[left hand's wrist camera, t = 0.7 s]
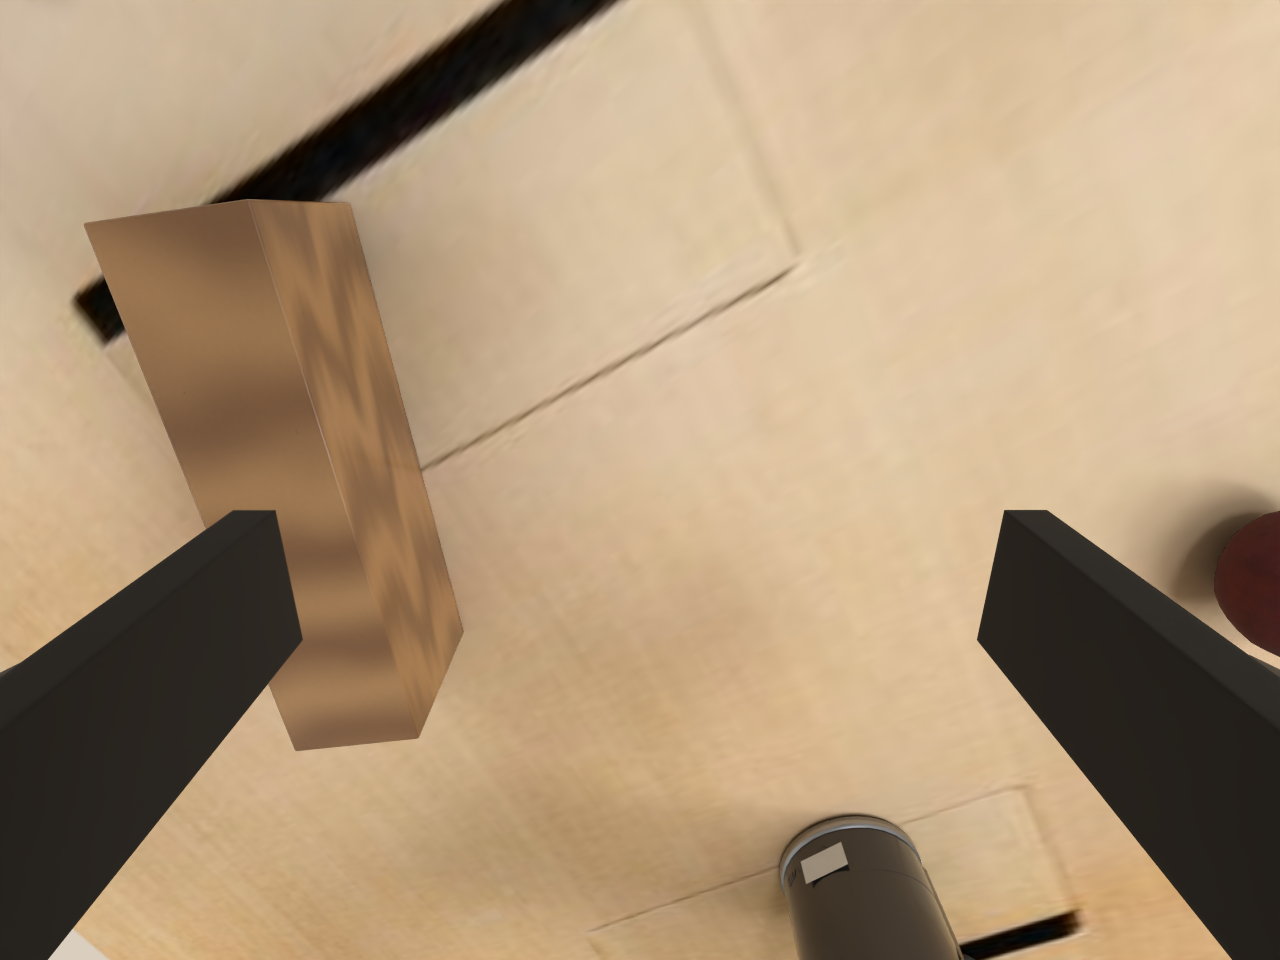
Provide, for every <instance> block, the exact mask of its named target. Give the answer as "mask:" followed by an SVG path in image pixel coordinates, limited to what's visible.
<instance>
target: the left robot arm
mask: <svg viewBox="0 0 1280 960" xmlns="http://www.w3.org/2000/svg"><path fill="white" fill-rule="evenodd" d="M302 641H303V637H302V633H301V628H300V623H299V618H298V614H297V609H296V604H295V600H294V595H293V590H292V585H291V581H290V576H289V571H288V566H287V562H286V557H285V552H284V548H283V543H282V538H281V533H280V529H279V524H278V519H277V514H276V510H233V511H231V512H230V513H228V514H227V515H226V516H224V517H223V518H221V519H220V520H219V521H217V522H216V523H214V524H213V525H212V526H210V527H209V528H207V529H206V530H205V531H203V532H202V533H201V534H199V535H198V536H196V537H195V538H194V539H192V540H191V541H189V542H188V543H187V544H185V545H184V546H182V547H181V548H180V549H178V550H177V551H175V552H174V553H173V554H171V555H170V556H169V557H167V558H166V559H164V560H163V561H162V562H160V563H159V564H157V565H156V566H155V567H153V568H152V569H150V570H149V571H148V572H146V573H145V574H143V575H142V576H141V577H139V578H138V579H137V580H135V581H134V582H132V583H131V584H130V585H128V586H127V587H125V588H124V589H123V590H121V591H120V592H118V593H117V594H116V595H114V596H113V597H111V598H110V599H109V600H107V601H106V602H105V603H103V604H102V605H100V606H99V607H98V608H96V609H95V610H93V611H92V612H91V613H89V614H88V615H86V616H85V617H84V618H82V619H81V620H79V621H78V622H77V623H75V624H74V625H72V626H71V627H70V628H68V629H67V630H66V631H64V632H63V633H61V634H60V635H59V636H57V637H56V638H54V639H53V640H52V641H50V642H49V643H47V644H46V645H45V646H43V647H42V648H40V649H39V650H38V651H36V652H35V653H34V654H32V655H31V656H29V657H28V658H27V659H25V660H24V661H22V662H21V663H19V664H17V665H15V666H13V667H11V668H9V669H7V670H5V671H3V672H1V673H0V960H48V959H49V958H50V956H51V955H52V954H53V953H54V951H55V950H56V949H57V948H58V946H59V945H60V944H61V942H62V941H63V940H64V939H65V937H66V936H67V935H68V934H69V932H70V931H71V930H72V929H73V927H74V926H75V925H76V924H77V922H78V921H79V920H80V919H81V917H82V916H83V915H84V914H85V912H86V911H87V910H88V909H89V907H90V906H91V905H92V904H93V902H94V901H95V900H96V899H97V897H98V896H99V895H100V894H101V892H102V891H103V890H104V889H105V887H106V886H107V885H108V884H109V882H110V881H111V880H112V879H113V877H114V876H115V875H116V874H117V872H118V871H119V870H120V869H121V867H122V866H123V865H124V864H125V862H126V861H127V860H128V859H129V857H130V856H131V855H132V854H133V852H134V851H135V850H136V849H137V847H138V846H139V845H140V844H141V842H142V841H143V840H144V839H145V837H146V836H147V835H148V833H149V832H150V831H151V830H152V828H153V827H154V826H155V825H156V823H157V822H158V821H159V820H160V818H161V817H162V816H163V815H164V813H165V812H166V811H167V810H168V808H169V807H170V806H171V805H172V803H173V802H174V801H175V800H176V798H177V797H178V796H179V795H180V793H181V792H182V791H183V790H184V788H185V787H186V786H187V785H188V783H189V782H190V781H191V780H192V778H193V777H194V776H195V775H196V773H197V772H198V771H199V770H200V768H201V767H202V766H203V765H204V763H205V762H206V761H207V760H208V758H209V757H210V756H211V755H212V753H213V752H214V751H215V750H216V748H217V747H218V746H219V745H220V743H221V742H222V741H223V740H224V738H225V737H226V736H227V735H228V733H229V732H230V731H231V730H232V728H233V727H234V726H235V724H236V723H237V722H238V721H239V719H240V718H241V717H242V716H243V714H244V713H245V712H246V711H247V709H248V708H249V707H250V706H251V704H252V703H253V702H254V701H255V699H256V698H257V697H258V696H259V694H260V693H261V692H262V691H263V689H264V688H265V687H266V686H267V684H268V683H269V682H270V681H271V679H272V678H273V677H274V676H275V674H276V673H277V672H278V671H279V669H280V668H281V667H282V666H283V664H284V663H285V662H286V661H287V659H288V658H289V657H290V656H291V654H292V653H293V652H294V651H295V649H296V648H297V647H298V646H299V644H300V643H301V642H302ZM977 641H978V642H979V643H980V644H981V646H982V647H983V648H984V649H985V651H986V652H987V653H988V654H989V656H990V657H991V658H992V659H993V661H994V662H995V663H996V664H997V666H998V667H999V668H1000V669H1001V671H1002V672H1003V673H1004V674H1005V676H1006V677H1007V678H1008V679H1009V681H1010V682H1011V683H1012V684H1013V686H1014V687H1015V688H1016V689H1017V691H1018V692H1019V693H1020V694H1021V696H1022V697H1023V698H1024V699H1025V701H1026V702H1027V703H1028V704H1029V706H1030V707H1031V708H1032V709H1033V711H1034V712H1035V713H1036V714H1037V716H1038V717H1039V718H1040V719H1041V721H1042V722H1043V723H1044V724H1045V726H1046V727H1047V728H1048V730H1049V731H1050V732H1051V733H1052V735H1053V736H1054V737H1055V738H1056V740H1057V741H1058V742H1059V743H1060V745H1061V746H1062V747H1063V748H1064V750H1065V751H1066V752H1067V753H1068V755H1069V756H1070V757H1071V758H1072V760H1073V761H1074V762H1075V763H1076V765H1077V766H1078V767H1079V768H1080V770H1081V771H1082V772H1083V773H1084V775H1085V776H1086V777H1087V778H1088V780H1089V781H1090V782H1091V783H1092V785H1093V786H1094V787H1095V788H1096V790H1097V791H1098V792H1099V793H1100V795H1101V796H1102V797H1103V798H1104V800H1105V801H1106V802H1107V803H1108V805H1109V806H1110V807H1111V808H1112V810H1113V811H1114V812H1115V813H1116V815H1117V816H1118V817H1119V818H1120V820H1121V821H1122V822H1123V823H1124V825H1125V826H1126V827H1127V828H1128V830H1129V831H1130V832H1131V833H1132V835H1133V836H1134V837H1135V839H1136V840H1137V841H1138V842H1139V844H1140V845H1141V846H1142V847H1143V849H1144V850H1145V851H1146V852H1147V854H1148V855H1149V856H1150V857H1151V859H1152V860H1153V861H1154V862H1155V864H1156V865H1157V866H1158V867H1159V869H1160V870H1161V871H1162V872H1163V874H1164V875H1165V876H1166V877H1167V879H1168V880H1169V881H1170V882H1171V884H1172V885H1173V886H1174V887H1175V889H1176V890H1177V891H1178V892H1179V894H1180V895H1181V896H1182V897H1183V899H1184V900H1185V901H1186V902H1187V904H1188V905H1189V906H1190V907H1191V909H1192V910H1193V911H1194V912H1195V914H1196V915H1197V916H1198V917H1199V919H1200V920H1201V921H1202V922H1203V924H1204V925H1205V926H1206V927H1207V929H1208V930H1209V931H1210V932H1211V934H1212V935H1213V936H1214V937H1215V939H1216V940H1217V941H1218V942H1219V944H1220V945H1221V946H1222V948H1223V949H1224V950H1225V951H1226V953H1227V954H1228V955H1229V956H1230V958H1231V959H1232V960H1280V669H1278V668H1275V667H1273V666H1271V665H1269V664H1267V663H1265V662H1263V661H1261V660H1259V659H1257V658H1255V657H1253V656H1251V655H1248V654H1246V653H1245V652H1244V651H1242V650H1241V649H1240V648H1238V647H1237V646H1235V645H1234V644H1233V643H1231V642H1230V641H1228V640H1227V639H1226V638H1224V637H1223V636H1221V635H1220V634H1219V633H1217V632H1216V631H1214V630H1213V629H1212V628H1210V627H1209V626H1208V625H1206V624H1205V623H1203V622H1202V621H1201V620H1199V619H1198V618H1196V617H1195V616H1194V615H1192V614H1191V613H1189V612H1188V611H1187V610H1185V609H1184V608H1182V607H1181V606H1180V605H1178V604H1177V603H1175V602H1174V601H1173V600H1171V599H1170V598H1169V597H1167V596H1166V595H1164V594H1163V593H1162V592H1160V591H1159V590H1157V589H1156V588H1155V587H1153V586H1152V585H1150V584H1149V583H1148V582H1146V581H1145V580H1143V579H1142V578H1141V577H1139V576H1138V575H1137V574H1135V573H1134V572H1132V571H1131V570H1130V569H1128V568H1127V567H1125V566H1124V565H1123V564H1121V563H1120V562H1118V561H1117V560H1116V559H1114V558H1113V557H1111V556H1110V555H1109V554H1107V553H1106V552H1105V551H1103V550H1102V549H1100V548H1099V547H1098V546H1096V545H1095V544H1093V543H1092V542H1091V541H1089V540H1088V539H1086V538H1085V537H1084V536H1082V535H1081V534H1079V533H1078V532H1077V531H1075V530H1074V529H1073V528H1071V527H1070V526H1068V525H1067V524H1066V523H1064V522H1063V521H1061V520H1060V519H1059V518H1057V517H1056V516H1054V515H1053V514H1052V513H1050V512H1049V511H1047V510H1004V514H1003V519H1002V524H1001V529H1000V533H999V538H998V543H997V548H996V552H995V557H994V562H993V566H992V571H991V576H990V581H989V585H988V590H987V595H986V600H985V604H984V609H983V614H982V618H981V623H980V628H979V633H978V637H977Z"/></svg>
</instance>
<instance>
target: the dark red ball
mask: <svg viewBox="0 0 1280 960" xmlns="http://www.w3.org/2000/svg"><path fill="white" fill-rule="evenodd" d="M1214 592H1215V595H1216V598H1217V600H1218V603H1219V605H1220V608H1221V609H1222V611H1223V612H1224V614H1225V615H1226V617H1227V619H1228V620H1229V621H1230V622H1231V623H1232V624H1233V626H1234V627H1235V628H1236V629H1237V630H1238V631H1239V632H1240V633H1241V634H1242V635H1243V636H1245V637H1246V638H1247V639H1248V640H1249V641H1250V642H1251V643H1253V644H1255V645H1257V646H1259V647H1260V648H1262V649H1264V650H1266V651H1268V652H1270V653H1272V654H1275V655H1277V656H1279V657H1280V511H1278V512H1274V513H1269V514H1265V515H1263V516H1261V517H1259V518H1258V519H1256V520H1254V521H1252V522H1251V523H1249V524H1247V525H1246V526H1244V527H1242V528H1241V529H1240V530H1239V531H1238V532H1237V533H1236V534H1235V535H1233V536H1232V537H1231V538H1230V540H1229V542H1228V544H1227V545H1226V547H1225V549H1224V550H1223V552H1222V554H1221V556H1220V558H1219V560H1218V564H1217V569H1216V574H1215V579H1214Z"/></svg>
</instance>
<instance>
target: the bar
mask: <svg viewBox="0 0 1280 960" xmlns="http://www.w3.org/2000/svg"><path fill="white" fill-rule="evenodd" d="M84 227H85V230H86V232H87V235H88V237H89V240H90V242H91V245H92V247H93V250H94V252H95V254H96V257H97V259H98V262H99V264H100V267H101V269H102V272H103V274H104V277H105V279H106V282H107V284H108V287H109V289H110V292H111V294H112V297H113V299H114V302H115V304H116V307H117V309H118V312H119V314H120V317H121V319H122V322H123V324H124V326H125V329H126V331H127V334H128V336H129V339H130V341H131V344H132V346H133V349H134V351H135V354H136V356H137V359H138V361H139V364H140V366H141V369H142V371H143V374H144V376H145V379H146V381H147V384H148V386H149V389H150V391H151V394H152V396H153V399H154V401H155V403H156V406H157V408H158V411H159V413H160V416H161V418H162V421H163V423H164V426H165V428H166V431H167V433H168V436H169V438H170V441H171V443H172V446H173V448H174V451H175V453H176V456H177V458H178V461H179V463H180V466H181V468H182V471H183V473H184V476H185V478H186V480H187V483H188V485H189V488H190V490H191V493H192V495H193V498H194V500H195V503H196V505H197V508H198V510H199V513H200V515H201V518H202V520H203V523H204V525H205V528H206V529H207V528H209V527H210V526H212V525H213V524H214V523H216V522H217V521H219V520H220V519H221V518H223V517H224V516H226V515H227V514H228V513H230V512H231V511H233V510H276V514H277V519H278V524H279V529H280V533H281V538H282V543H283V548H284V552H285V557H286V562H287V566H288V571H289V576H290V581H291V585H292V590H293V595H294V600H295V604H296V609H297V614H298V618H299V623H300V628H301V633H302V637H303V641H302V642H301V643H300V644H299V646H298V647H297V648H296V649H295V651H294V652H293V653H292V654H291V656H290V657H289V658H288V659H287V661H286V662H285V663H284V664H283V666H282V667H281V668H280V669H279V671H278V672H277V673H276V674H275V676H274V677H273V678H272V679H271V681H270V682H269V683H268V684H269V687H270V689H271V692H272V694H273V697H274V699H275V702H276V704H277V707H278V709H279V711H280V714H281V716H282V719H283V721H284V724H285V726H286V729H287V731H288V734H289V736H290V739H291V741H292V744H293V746H294V749H295V751H302V750H312V749H321V748H331V747H341V746H350V745H360V744H370V743H379V742H389V741H399V740H408V739H417V738H419V736H420V734H421V731H422V729H423V726H424V724H425V722H426V719H427V717H428V715H429V712H430V710H431V708H432V705H433V703H434V701H435V698H436V696H437V693H438V691H439V689H440V686H441V684H442V682H443V679H444V677H445V675H446V672H447V670H448V668H449V665H450V663H451V661H452V658H453V656H454V653H455V651H456V649H457V646H458V644H459V642H460V639H461V637H462V635H463V628H462V624H461V620H460V617H459V613H458V609H457V605H456V601H455V598H454V594H453V590H452V586H451V583H450V579H449V575H448V571H447V568H446V564H445V560H444V556H443V553H442V549H441V545H440V541H439V537H438V534H437V530H436V526H435V522H434V519H433V515H432V511H431V507H430V504H429V500H428V496H427V492H426V488H425V485H424V481H423V477H422V473H421V470H420V466H419V462H418V458H417V455H416V451H415V447H414V443H413V440H412V436H411V432H410V428H409V424H408V421H407V417H406V413H405V409H404V406H403V402H402V398H401V394H400V391H399V387H398V383H397V379H396V375H395V372H394V368H393V364H392V360H391V357H390V353H389V349H388V345H387V342H386V338H385V334H384V330H383V327H382V323H381V319H380V315H379V311H378V308H377V304H376V300H375V296H374V293H373V289H372V285H371V281H370V278H369V274H368V270H367V266H366V262H365V259H364V255H363V251H362V247H361V244H360V240H359V236H358V232H357V229H356V225H355V221H354V217H353V214H352V210H351V206H350V204H349V203H337V202H309V201H282V200H254V199H246V200H239V201H232V202H225V203H218V204H211V205H204V206H198V207H191V208H184V209H177V210H170V211H163V212H156V213H149V214H142V215H136V216H129V217H122V218H115V219H108V220H101V221H94V222H87V223H85V224H84Z"/></svg>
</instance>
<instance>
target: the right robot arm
mask: <svg viewBox="0 0 1280 960" xmlns="http://www.w3.org/2000/svg"><path fill="white" fill-rule="evenodd" d="M780 879H781V884H782V889H783V892H784V895H785V897H786V901H787V905H788V910H789V915H790V919H791V924H792V929H793V935H794V939H795V944H796V949H797V954H798V958H799V960H975V959H974V958H972V957H970V956H969V955H967V954H962V951H961V949H960V947H959V944H958V942H957V940H956V937H955V935H954V933H953V931H952V928H951V926H950V924H949V921H948V919H947V917H946V914H945V912H944V910H943V908H942V905H941V903H940V901H939V898H938V896H937V894H936V891H935V889H934V887H933V884H932V882H931V880H930V878H929V875H928V873H927V871H926V869H924V868H923V867H922V864H921V860H920V857H919V855H918V852H917V850H916V848H915V846H914V844H913V842H912V840H911V839H910V838H909V837H908V835H907V834H906V833H905V832H903V831H902V830H901V829H899V828H898V827H896V826H895V825H893V824H891V823H888V822H886V821H883V820H880V819H876V818H871V817H862V816H852V817H842V818H836V819H832V820H828V821H825V822H822V823H820V824H817V825H815V826H813V827H811V828H809V829H808V830H806V831H805V832H803V833H802V834H800V835H799V836H798V837H797V838H796V839H795V840H794V841H793V842H792V843H791V844H790V845H789V847H788V848H787V849H786V851H785V853H784V855H783V857H782V860H781V864H780Z"/></svg>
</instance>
